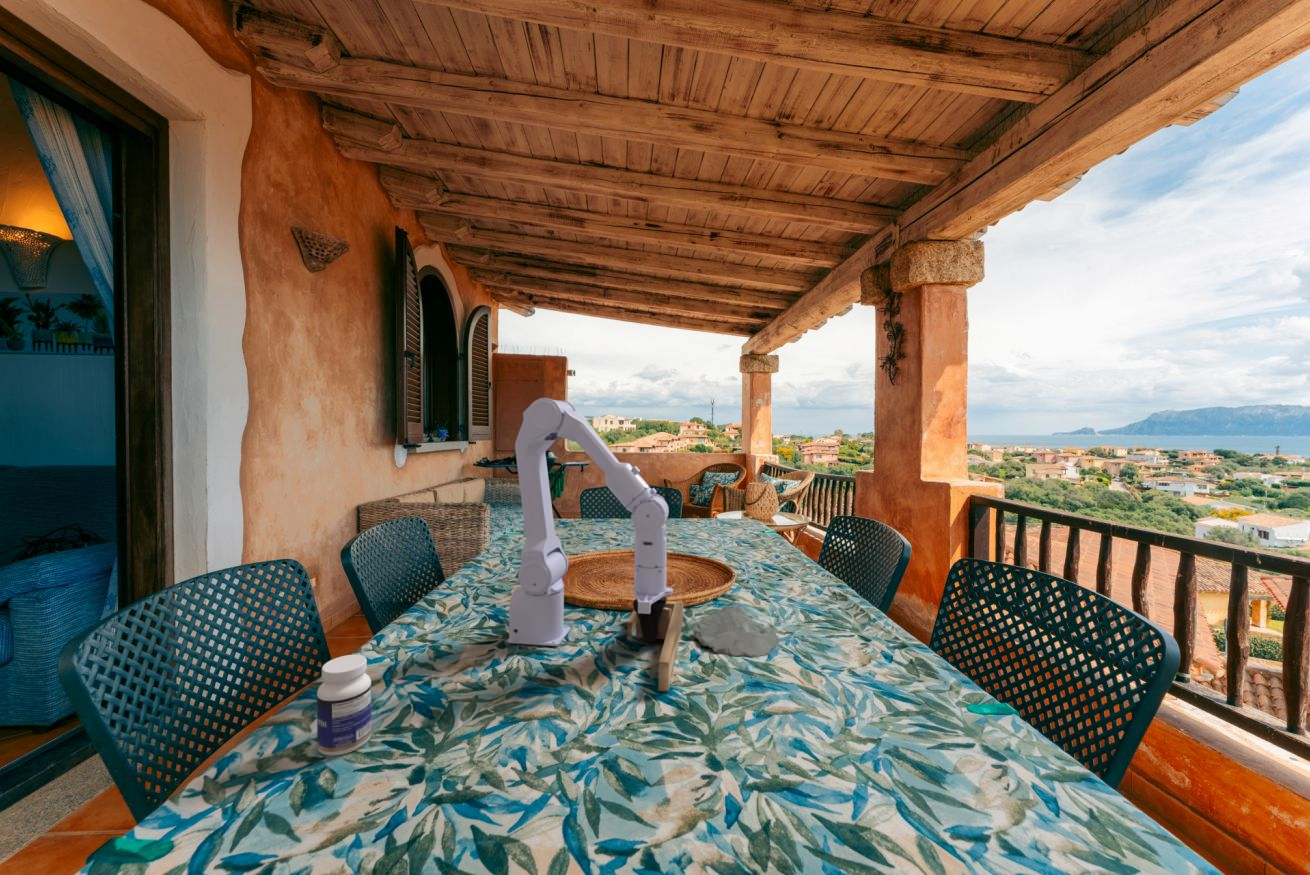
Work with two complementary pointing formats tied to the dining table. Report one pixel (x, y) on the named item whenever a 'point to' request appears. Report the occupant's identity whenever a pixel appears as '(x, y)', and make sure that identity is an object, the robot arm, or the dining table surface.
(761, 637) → the stone
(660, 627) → the cabinet block
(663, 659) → the wooden bracket
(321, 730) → the pill bottle
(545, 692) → the dining table surface
